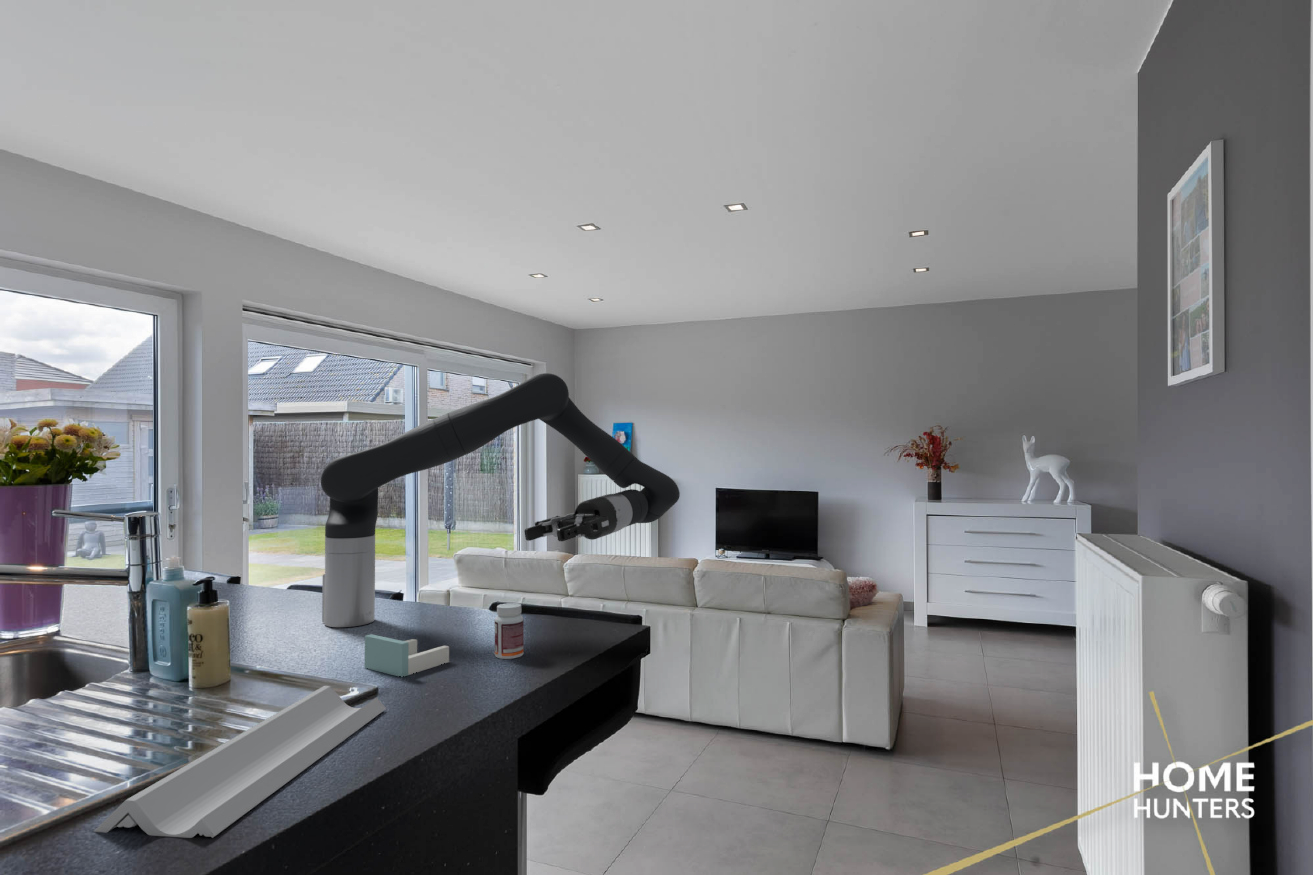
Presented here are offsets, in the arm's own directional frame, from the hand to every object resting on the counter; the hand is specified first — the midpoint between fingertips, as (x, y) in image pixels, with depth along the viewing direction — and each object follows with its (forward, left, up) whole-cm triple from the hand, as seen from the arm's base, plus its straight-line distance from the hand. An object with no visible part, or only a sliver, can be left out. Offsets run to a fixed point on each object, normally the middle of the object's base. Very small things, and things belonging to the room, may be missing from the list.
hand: (542, 535), depth 126 cm
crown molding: (+5, -52, -20) cm, 56 cm away
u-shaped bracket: (-10, -20, -19) cm, 29 cm away
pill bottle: (0, -8, -20) cm, 21 cm away
